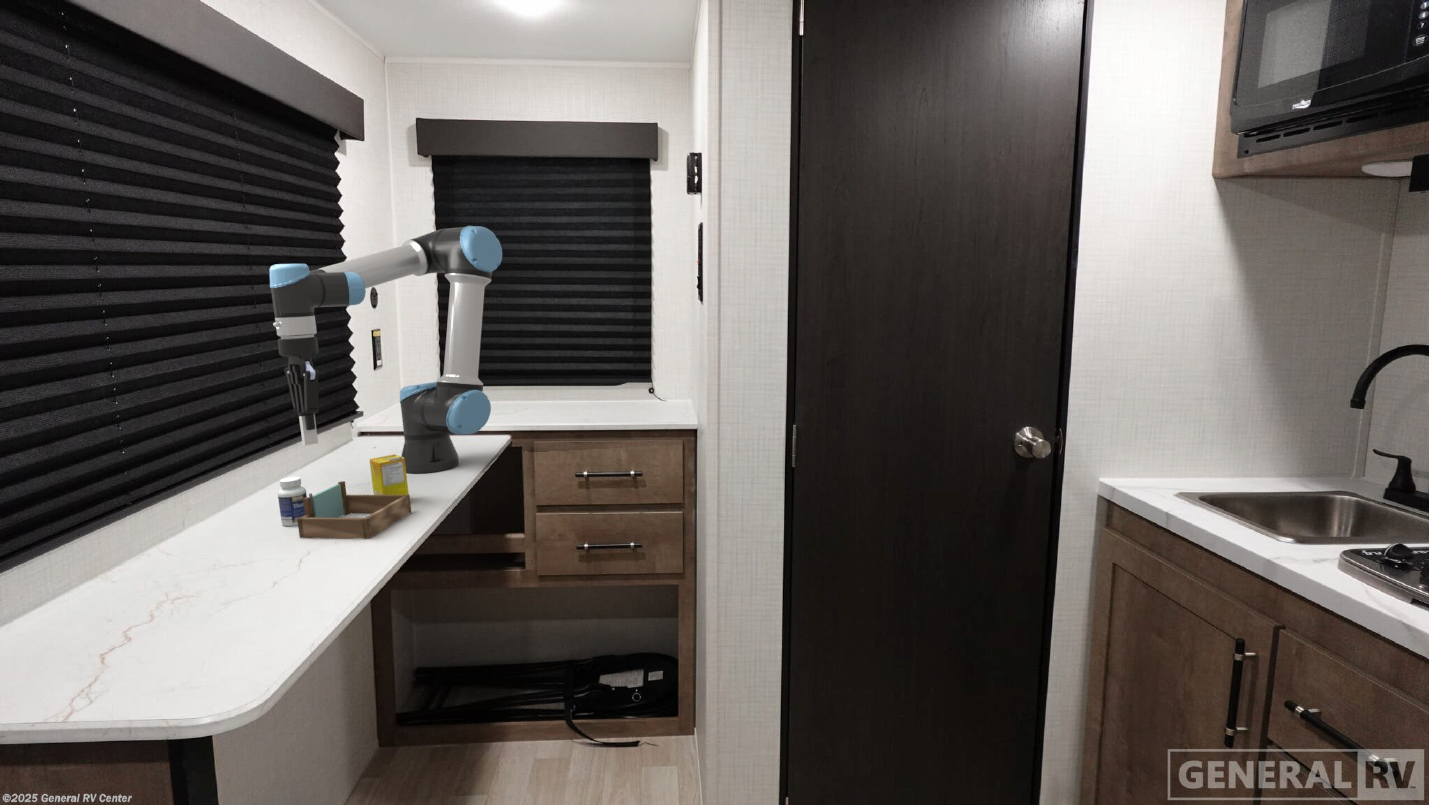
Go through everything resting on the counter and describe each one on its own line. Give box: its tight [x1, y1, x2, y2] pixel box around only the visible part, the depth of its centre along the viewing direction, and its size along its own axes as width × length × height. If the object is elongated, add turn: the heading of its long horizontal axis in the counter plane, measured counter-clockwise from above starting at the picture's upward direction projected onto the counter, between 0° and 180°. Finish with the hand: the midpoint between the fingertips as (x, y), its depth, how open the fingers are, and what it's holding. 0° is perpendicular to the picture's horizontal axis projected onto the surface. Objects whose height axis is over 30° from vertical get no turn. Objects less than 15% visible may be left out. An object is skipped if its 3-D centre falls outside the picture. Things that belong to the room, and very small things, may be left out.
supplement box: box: [369, 454, 410, 495], centre depth 179 cm, size 6×6×11 cm
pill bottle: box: [277, 476, 308, 527], centre depth 167 cm, size 5×5×10 cm
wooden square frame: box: [297, 480, 412, 540], centre depth 165 cm, size 17×15×8 cm
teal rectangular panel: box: [312, 483, 345, 518], centre depth 167 cm, size 9×1×7 cm, turn 173°
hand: (310, 443), depth 171 cm, fingers closed
